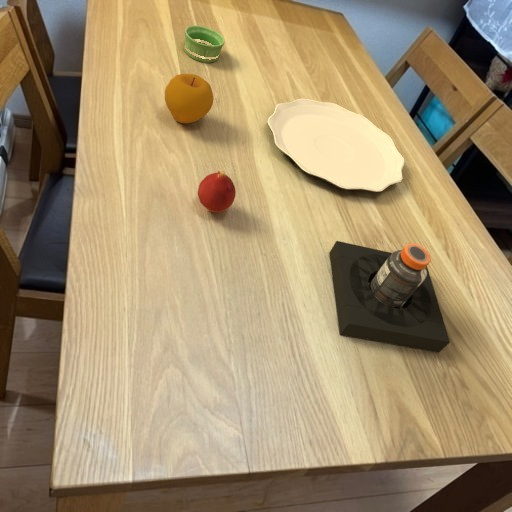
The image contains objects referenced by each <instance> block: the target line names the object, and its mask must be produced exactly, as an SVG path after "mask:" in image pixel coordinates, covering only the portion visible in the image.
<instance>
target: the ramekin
mask: <svg viewBox="0 0 512 512" xmlns="http://www.w3.org/2000/svg"><path fill="white" fill-rule="evenodd" d="M193 39H200V40H204V41H207V42H209V43H211V44H212V45H214V46H212V45H207V44H205V43H201V42H197V41H195V40H193ZM184 43H185V46H186V48H187V49H189V50H190V51H191V52H194V53H196V54H198V55H200V56H204V57H216V56H218V55H219V54H220V55H221V52H222V49H223V47H224V46H225V43H226V42H225V37H224V36H223V35H222V34H221V33H219V32H218V31H217V30H215V29H213V28H210V27H207V26H203V25H197V24H196V25H189V26H187V27H186V28H185V29H184ZM183 50H184V53H185V54H186V55H187V56H188V57H189V58H191V59H193V60H195V61H198V62H202V63H214V62H216V61H218V60H219V58H220V55H219V57H218V58H216V59H211V60H209V59H202V58H199V57H196V56H194V55H192V54H190V53H189V52H188V51H187V50H186V49H185V47H183Z"/></svg>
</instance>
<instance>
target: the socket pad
mask: <svg viewBox="0 0 512 512" xmlns="http://www.w3.org/2000/svg"><path fill="white" fill-rule="evenodd" d="M328 253H329V262H330V267H331V268H330V269H331V276H332V277H331V278H332V284H333V293H334V301H335V309H336V316H337V323H338V332H339V336H342V337H349V338H353V339H354V338H355V339H358V340H359V339H360V340H365V341H370V342H376V343H382V344H388V345H393V346H400V347H405V348H410V349H411V348H412V349H417V350H421V351H426V352H427V351H428V352H433V353H441V352H442V351H443V350H444V349H445V348H446V347H447V346H448V345H450V343H451V340H450V337H449V333H448V331H447V330H448V329H447V326H446V323H445V320H444V317H443V314H442V311H441V307H440V304H439V301H438V297H437V294H436V291H435V288H434V285H433V281H432V278H431V274H430V271H429V267H428V266H427V267H426V269H427V275H426V278H425V280H424V281H423V282H422V283H421V284H420V286H419V287H418V288H417V289H416V290H415V291H414V293H413V294H412V295H411V296H410V297H409V298H408V300H407V301H406V302H405V303H404V304H403V306H402V307H401V308H400V309H396V308H391V307H389V306H387V305H385V304H383V303H381V302H380V301H379V300H378V299H377V298H376V297H375V296H374V295H373V293H372V291H371V290H370V288H369V283H370V282H371V281H372V279H373V278H374V277H375V275H376V274H377V272H378V271H379V270H380V268H381V267H382V266H383V264H384V263H385V261H386V260H387V259H388V257H389V256H390V255H391V254H392V253H393V252H390V251H385V250H381V249H380V250H379V249H376V248H371V247H367V246H364V245H363V246H362V245H358V244H355V243H354V244H353V243H350V242H345V241H341V240H336V241H335V242H334V243H333V245H332V247H331V249H330V251H329V252H328Z"/></svg>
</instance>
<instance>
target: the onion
mask: <svg viewBox="0 0 512 512" xmlns="http://www.w3.org/2000/svg"><path fill="white" fill-rule="evenodd" d="M236 191H237V190H236V186H235V184H234V182H233V180H232V179H231V178H230V177H229V176H228V175H227V174H226V173H225V172H224V171H223V170H217V172H213V173H210V174H207V175H205V177H204V178H203V179H202V180H201V181H200V183H199V184H198V189H197V197H198V200H199V202H200V204H201V206H203V208H205V209H206V210H208V212H212V213H221V212H224V211H226V210H227V209H229V208H230V207H231V206H232V205H233V203H234V202H235V199H236V193H237V192H236Z"/></svg>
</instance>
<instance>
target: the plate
mask: <svg viewBox="0 0 512 512" xmlns="http://www.w3.org/2000/svg"><path fill="white" fill-rule="evenodd" d="M266 121H267V126H268V127H269V130H270V131H271V132H272V136H273V141H274V142H273V143H274V146H275V147H276V148H277V149H278V150H279V151H280V152H282V153H283V154H284V155H286V156H287V157H288V158H290V159H291V160H292V161H293V162H294V164H295V165H296V166H297V167H298V168H299V169H300V170H301V171H303V172H305V173H306V174H307V175H310V176H313V177H316V178H317V179H319V180H321V181H323V182H326V183H329V184H330V185H333V186H335V187H337V188H339V189H342V190H345V191H347V190H349V191H350V190H361V191H366V192H373V193H382V192H383V191H385V190H386V189H387V188H388V187H390V186H393V185H396V184H400V183H401V182H402V181H403V169H404V166H405V164H406V161H405V158H404V156H402V154H401V153H400V151H399V150H398V148H397V147H396V144H395V143H394V140H393V139H392V138H391V136H390V135H389V134H387V133H386V132H384V131H383V130H382V129H380V128H379V127H378V126H376V125H375V124H374V123H373V122H372V121H371V120H370V119H369V118H367V117H365V116H364V115H362V114H359V113H357V112H353V111H351V110H349V109H347V108H345V107H342V106H341V105H339V104H337V103H334V102H330V101H318V100H314V99H309V98H304V97H303V98H299V97H298V98H297V99H295V100H292V101H288V102H279V103H277V104H276V105H275V109H274V112H273V113H272V114H271V115H270V116H269V117H268V118H267V120H266Z"/></svg>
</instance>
